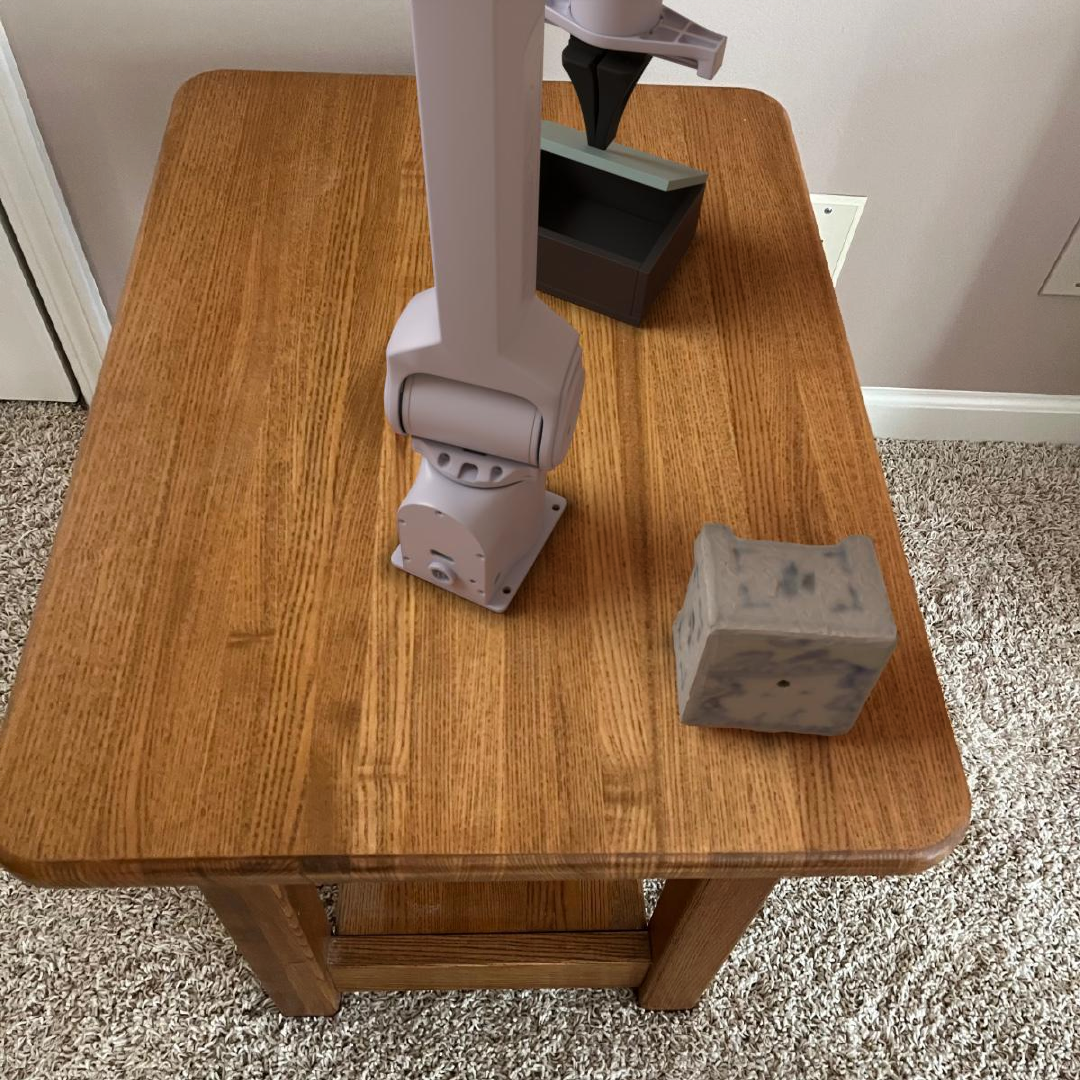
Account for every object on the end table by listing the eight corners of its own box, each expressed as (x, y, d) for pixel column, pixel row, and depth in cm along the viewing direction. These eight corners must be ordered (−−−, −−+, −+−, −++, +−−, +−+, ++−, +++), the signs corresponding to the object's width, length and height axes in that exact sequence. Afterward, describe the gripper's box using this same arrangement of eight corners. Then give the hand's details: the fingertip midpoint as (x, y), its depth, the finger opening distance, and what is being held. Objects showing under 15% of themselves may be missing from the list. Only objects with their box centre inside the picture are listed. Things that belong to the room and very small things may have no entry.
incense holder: (828, 618, 61) (885, 523, 52) (844, 745, 56) (909, 665, 47) (670, 607, 60) (700, 510, 52) (672, 734, 56) (706, 651, 47)
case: (639, 328, 74) (648, 273, 69) (479, 268, 76) (478, 212, 72) (694, 238, 80) (706, 182, 75) (544, 185, 82) (547, 129, 78)
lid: (666, 191, 64) (669, 180, 64) (482, 129, 67) (485, 118, 67) (706, 182, 75) (709, 173, 75) (546, 129, 78) (548, 120, 77)
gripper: (760, -60, 59) (716, 141, 70) (543, -120, 62) (535, 82, 73) (719, -6, 55) (680, 196, 67) (491, -72, 58) (491, 132, 70)
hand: (601, 140), depth 70 cm, fingers closed, pressing on lid
